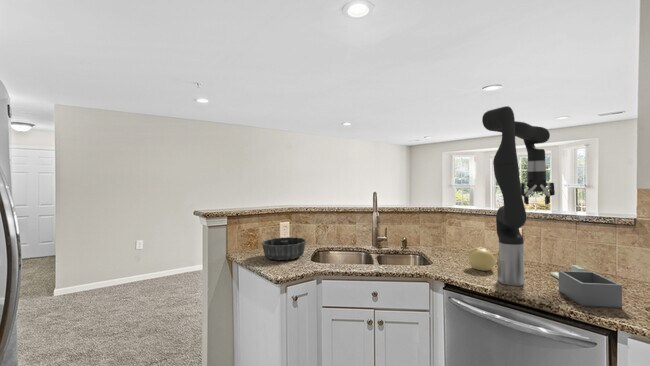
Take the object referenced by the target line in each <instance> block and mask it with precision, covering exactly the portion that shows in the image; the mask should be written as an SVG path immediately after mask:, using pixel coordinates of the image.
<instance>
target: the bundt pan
mask: <svg viewBox="0 0 650 366" xmlns="http://www.w3.org/2000/svg"><path fill="white" fill-rule="evenodd" d="M306 242H307V239H305V238H303V237H290V236H287V237H275V238H271V239H266V240H264V241H262V243H261V245H262V249H263V253H264V256H265V258H268V259H270V260H272V259H273V261H275V260H277V261H280V260H282V261H284V260H285V261H289V260H295V258H297V259H299V258H300V257H302V256H303V255H304V253H305V247H306Z"/></svg>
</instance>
